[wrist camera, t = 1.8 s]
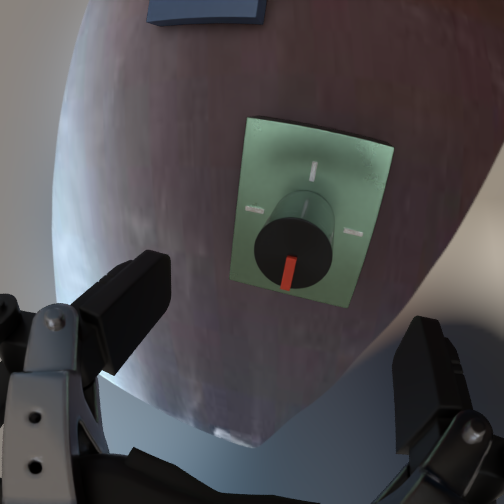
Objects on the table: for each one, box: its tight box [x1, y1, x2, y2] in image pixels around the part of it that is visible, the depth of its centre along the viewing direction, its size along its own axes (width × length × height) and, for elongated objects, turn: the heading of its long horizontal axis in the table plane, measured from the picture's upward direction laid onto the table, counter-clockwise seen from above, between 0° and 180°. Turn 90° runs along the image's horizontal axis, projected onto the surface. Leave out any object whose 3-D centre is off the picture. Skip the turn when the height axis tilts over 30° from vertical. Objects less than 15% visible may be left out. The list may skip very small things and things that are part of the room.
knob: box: [254, 190, 335, 291], centre depth 19 cm, size 4×4×6 cm
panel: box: [229, 116, 394, 308], centre depth 23 cm, size 13×10×3 cm
